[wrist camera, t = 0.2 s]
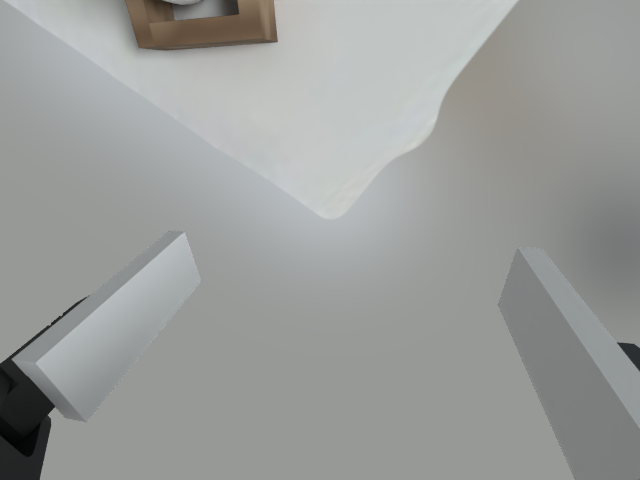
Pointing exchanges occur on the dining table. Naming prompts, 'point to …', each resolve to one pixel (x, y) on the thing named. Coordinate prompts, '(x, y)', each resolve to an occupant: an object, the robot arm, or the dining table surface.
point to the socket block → (201, 26)
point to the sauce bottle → (183, 1)
